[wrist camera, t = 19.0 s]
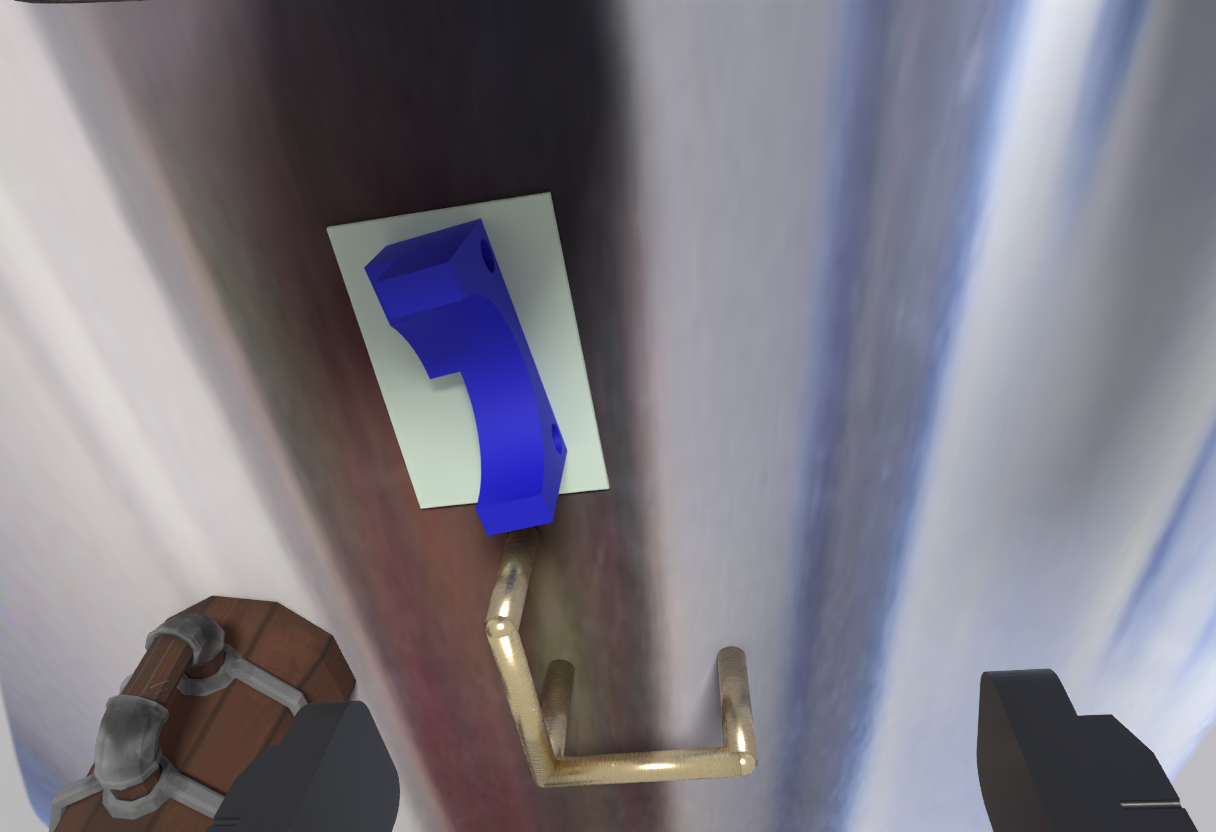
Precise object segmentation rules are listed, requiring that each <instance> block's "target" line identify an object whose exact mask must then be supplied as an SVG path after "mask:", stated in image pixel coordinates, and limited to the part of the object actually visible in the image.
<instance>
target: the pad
mask: <svg viewBox="0 0 1216 832" xmlns="http://www.w3.org/2000/svg"><path fill="white" fill-rule="evenodd" d="M480 218H481V220H482V222H483V225H484V228H485V230H486V233H487V236H488V239H489V241H490V244H491V247H492V249H493V252H494V255H495V257H496V260H497V263H498V265H499V268H500V271H501V273H502V276H503V279H504V281H505V284H506V287H507V290H508V292H509V295H510V298H511V300H512V303H513V306H514V308H515V311H516V314H517V316H518V319H519V322H520V324H521V327H522V330H523V332H524V335H525V338H526V340H527V343H528V346H529V349H530V351H531V354H532V357H533V359H534V362H535V365H536V367H537V370H538V373H539V375H540V378H541V381H542V383H543V386H544V389H545V391H546V394H547V397H548V399H549V402H550V405H551V408H552V410H553V413H554V416H555V418H556V421H557V424H558V426H559V429H560V432H561V434H562V437H563V440H564V442H565V445H566V448H567V455H566V460H565V465H564V469H563V474H562V479H561V484H560V489H559V494H563V493H572V492H582V491H591V490H601V489H609V481H608V476H607V471H606V466H605V461H604V457H603V452H602V447H601V442H600V437H599V432H598V427H597V422H596V417H595V412H594V407H593V402H592V397H591V392H590V387H589V382H588V377H587V372H586V367H585V362H584V357H583V352H582V347H581V342H580V337H579V332H578V327H577V322H576V317H575V312H574V307H573V302H572V297H571V292H570V287H569V282H568V277H567V272H566V267H565V262H564V257H563V252H562V247H561V242H560V237H559V232H558V227H557V222H556V217H555V212H554V207H553V202H552V197H551V193H550V192H545V193H538V194H532V195H526V196H519V197H513V198H507V199H500V200H494V201H488V202H481V203H475V204H469V205H462V206H456V207H450V208H443V209H437V210H431V211H424V212H418V213H412V214H405V215H399V216H393V217H386V218H380V219H374V220H368V221H361V222H355V223H349V224H342V225H336V226H330V227H328V228H326V229H327V232H328V235H329V238H330V241H331V244H332V247H333V250H334V253H335V255H336V258H337V261H338V264H339V267H340V270H341V273H342V276H343V279H344V282H345V285H346V288H347V291H348V294H349V297H350V300H351V303H352V306H353V309H354V312H355V315H356V318H357V321H358V324H359V327H360V330H361V333H362V336H363V339H364V342H365V344H366V347H367V350H368V353H369V356H370V359H371V362H372V365H373V368H374V371H375V374H376V377H377V380H378V383H379V386H380V389H381V392H382V395H383V398H384V401H385V404H386V407H387V410H388V413H389V416H390V419H391V422H392V425H393V428H394V431H395V433H396V436H397V439H398V442H399V445H400V448H401V451H402V454H403V457H404V460H405V463H406V466H407V469H408V472H409V475H410V478H411V481H412V484H413V487H414V490H415V493H416V496H417V499H418V502H419V505H420V508H431V507H440V506H450V505H459V504H468V503H477V502H478V497H479V492H480V483H481V456H480V445H479V437H478V431H477V426H476V421H475V416H474V412H473V408H472V404H471V401H470V397H469V394H468V391H467V388H466V385H465V383H464V380H463V377H462V375H461V372H457V373H453V374H449V375H445V376H441V377H437V378H433V379H430V378H429V376H428V374H427V372H426V370H425V368H424V366H423V364H422V363H421V361H420V359H419V357H418V356H417V354H416V353H415V351H414V350H413V348H412V347H411V346H410V344H409V343H408V342H407V341H406V340H405V338H404V337H403V336H402V335H401V334H400V333H399V332H398V331H396V330H395V329H394V328H392V327H391V326H390V324H389V322H388V320H387V318H386V315H385V313H384V311H383V309H382V307H381V304H380V302H379V300H378V298H377V296H376V293H375V291H374V289H373V287H372V284H371V282H370V280H369V278H368V276H367V273H366V271H365V269H364V267H365V266H366V265H367V264H368V263H369V262H370V261H371V260H372V259H373V258H374V257H375V256H376V255H377V254H378V253H379V252H380V251H381V250H382V249H383V248H384V247H385V246H387V245H390V244H394V243H397V242H401V241H404V240H408V239H411V238H415V237H418V236H421V235H425V234H428V233H432V232H435V231H439V230H442V229H446V228H449V227H452V226H456V225H459V224H463V223H466V222H470V221H473V220H477V219H480Z"/></svg>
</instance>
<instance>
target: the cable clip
mask: <svg viewBox="0 0 1216 832" xmlns="http://www.w3.org/2000/svg"><path fill="white" fill-rule="evenodd" d="M364 269H365V271H366V273H367V276H368V278H369V280H370V282H371V284H372V287H373V289H374V291H375V293H376V296H377V298H378V300H379V302H380V304H381V307H382V309H383V311H384V313H385V315H386V318H387V320H388V322H389V324H390V326H391V327H392V328H394V329H395V330H396V331H398V332H399V333H400V334H401V335H402V336H403V337H404V338H405V340H406V341H407V342H408V343H409V344H410V346H411V347H412V348H413V350H414V351H415V353H416V354H417V356H418V357H419V359H420V361H421V363H422V364H423V366H424V368H425V370H426V372H427V374H428V376H429V378H430V379H433V378H437V377H441V376H445V375H449V374H453V373H457V372H461V375H462V377H463V380H464V383H465V385H466V388H467V391H468V394H469V397H470V401H471V404H472V408H473V412H474V416H475V421H476V426H477V431H478V437H479V445H480V456H481V483H480V492H479V497H478V502H477V505H476V511H477V513H478V515H479V517H480V520H481V522H482V524H483V526H484V528H485V531H486V533H487V535H488V536H490V535H495V534H500V533H505V532H509V531H514V530H519V529H524V528H528V527H533V526H538V525H543V524H548V523H552V522H553V518H554V513H555V508H556V504H557V499H558V494H559V489H560V484H561V479H562V474H563V469H564V465H565V460H566V455H567V448H566V445H565V442H564V440H563V437H562V434H561V432H560V429H559V426H558V424H557V421H556V418H555V416H554V413H553V410H552V408H551V405H550V402H549V399H548V397H547V394H546V391H545V389H544V386H543V383H542V381H541V378H540V375H539V373H538V370H537V367H536V365H535V362H534V359H533V357H532V354H531V351H530V349H529V346H528V343H527V340H526V338H525V335H524V332H523V330H522V327H521V324H520V322H519V319H518V316H517V314H516V311H515V308H514V306H513V303H512V300H511V298H510V295H509V292H508V290H507V287H506V284H505V281H504V279H503V276H502V273H501V271H500V268H499V265H498V263H497V260H496V257H495V255H494V252H493V249H492V247H491V244H490V241H489V239H488V236H487V233H486V230H485V228H484V225H483V222H482V220H481V218H480V219H477V220H473V221H470V222H466V223H463V224H459V225H456V226H452V227H449V228H446V229H442V230H439V231H435V232H432V233H428V234H425V235H421V236H418V237H415V238H411V239H408V240H404V241H401V242H397V243H394V244H390V245H387V246H385V247H384V248H383V249H382V250H381V251H380V252H379V253H378V254H377V255H376V256H375V257H374V258H373V259H372V260H371V261H370V262H369V263H368V264H367V265H366V266H365V267H364Z"/></svg>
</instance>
